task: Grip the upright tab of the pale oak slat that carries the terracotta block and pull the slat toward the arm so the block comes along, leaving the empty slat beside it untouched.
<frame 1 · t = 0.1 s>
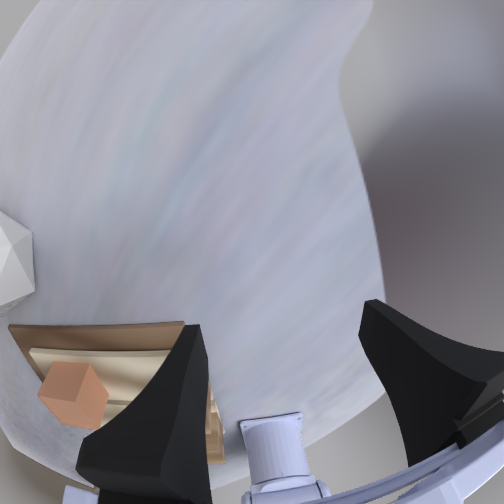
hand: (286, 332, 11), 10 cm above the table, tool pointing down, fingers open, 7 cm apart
empty slat: (136, 435, 25), point 4 cm above the table, slide at 0.0 cm
block: (81, 378, 23), point 2 cm above the table, touching loaded slat
board: (110, 385, 26), on the table
loaded slat: (107, 396, 21), point 4 cm above the table, slide at 0.0 cm, touching block
die: (16, 243, 18), on the table
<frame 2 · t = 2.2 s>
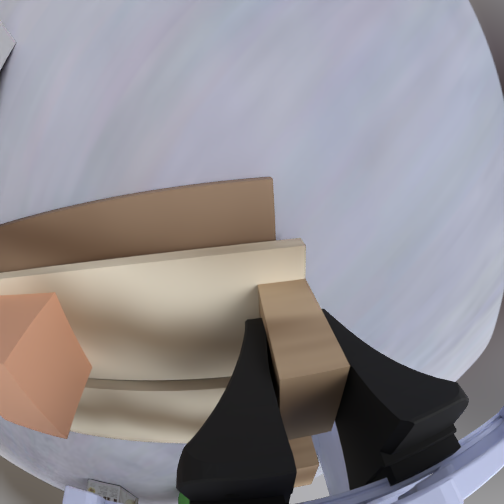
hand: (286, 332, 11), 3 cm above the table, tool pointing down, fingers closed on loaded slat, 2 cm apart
coffee box: (114, 489, 28), on the table
empty slat: (143, 446, 13), point 4 cm above the table, slide at 0.0 cm
block: (41, 332, 11), point 2 cm above the table, touching loaded slat
wine bottle: (205, 490, 27), on the table
board: (97, 353, 14), on the table
loaded slat: (83, 363, 10), point 4 cm above the table, slide at 0.0 cm, touching block, gripper
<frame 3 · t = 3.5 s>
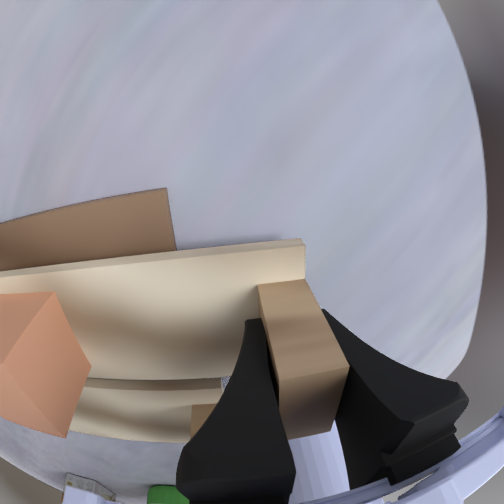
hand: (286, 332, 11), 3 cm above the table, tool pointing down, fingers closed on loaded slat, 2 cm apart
coffee box: (92, 483, 28), on the table
empty slat: (86, 438, 13), point 4 cm above the table, slide at 0.0 cm
block: (40, 331, 11), point 2 cm above the table, touching loaded slat
wine bottle: (175, 489, 27), on the table
board: (47, 349, 14), on the table
loaded slat: (82, 362, 10), point 4 cm above the table, slide at 4.3 cm, touching block, gripper
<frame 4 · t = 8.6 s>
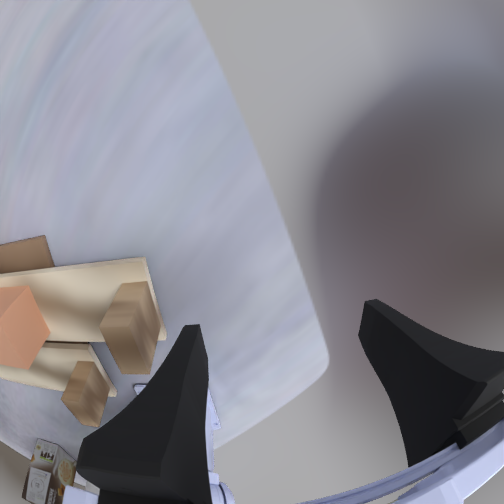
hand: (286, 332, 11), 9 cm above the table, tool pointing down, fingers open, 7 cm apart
coffee box: (58, 450, 34), on the table
empty slat: (26, 381, 19), point 4 cm above the table, slide at 0.0 cm
block: (22, 310, 18), point 2 cm above the table, touching loaded slat
board: (9, 324, 21), on the table
loaded slat: (40, 324, 17), point 4 cm above the table, slide at 8.0 cm, touching block
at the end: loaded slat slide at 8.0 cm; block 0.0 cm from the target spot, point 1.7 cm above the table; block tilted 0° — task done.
